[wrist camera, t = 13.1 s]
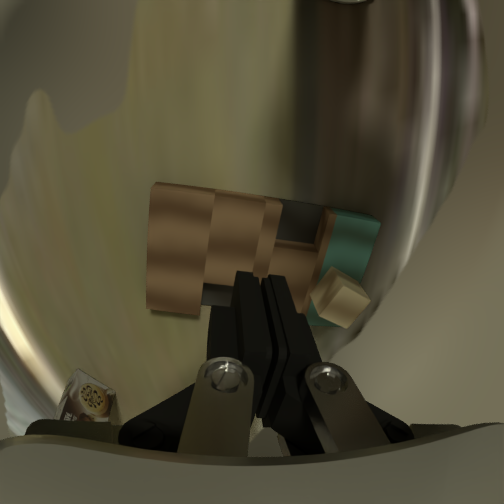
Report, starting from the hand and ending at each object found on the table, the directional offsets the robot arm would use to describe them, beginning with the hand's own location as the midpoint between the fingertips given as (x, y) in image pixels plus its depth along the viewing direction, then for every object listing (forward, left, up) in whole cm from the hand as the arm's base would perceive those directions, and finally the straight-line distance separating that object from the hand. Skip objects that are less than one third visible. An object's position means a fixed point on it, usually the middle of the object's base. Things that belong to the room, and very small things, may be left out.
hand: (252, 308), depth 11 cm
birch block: (+14, +16, -26) cm, 34 cm away
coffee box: (+45, -22, -29) cm, 58 cm away
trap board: (+12, +6, -29) cm, 32 cm away
